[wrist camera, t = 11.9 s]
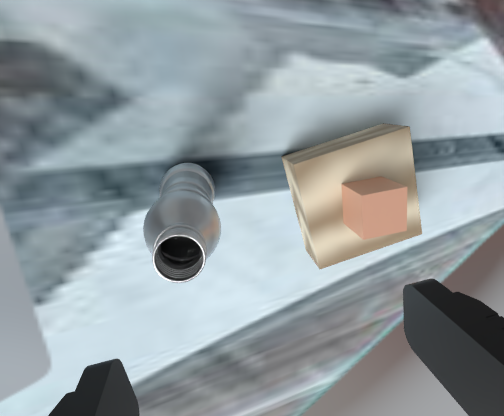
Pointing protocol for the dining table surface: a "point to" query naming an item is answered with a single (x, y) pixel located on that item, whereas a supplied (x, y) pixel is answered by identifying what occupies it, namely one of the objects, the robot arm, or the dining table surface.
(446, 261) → the dining table surface
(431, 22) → the dining table surface
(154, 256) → the plastic bottle
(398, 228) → the terracotta block
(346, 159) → the beige square slab
